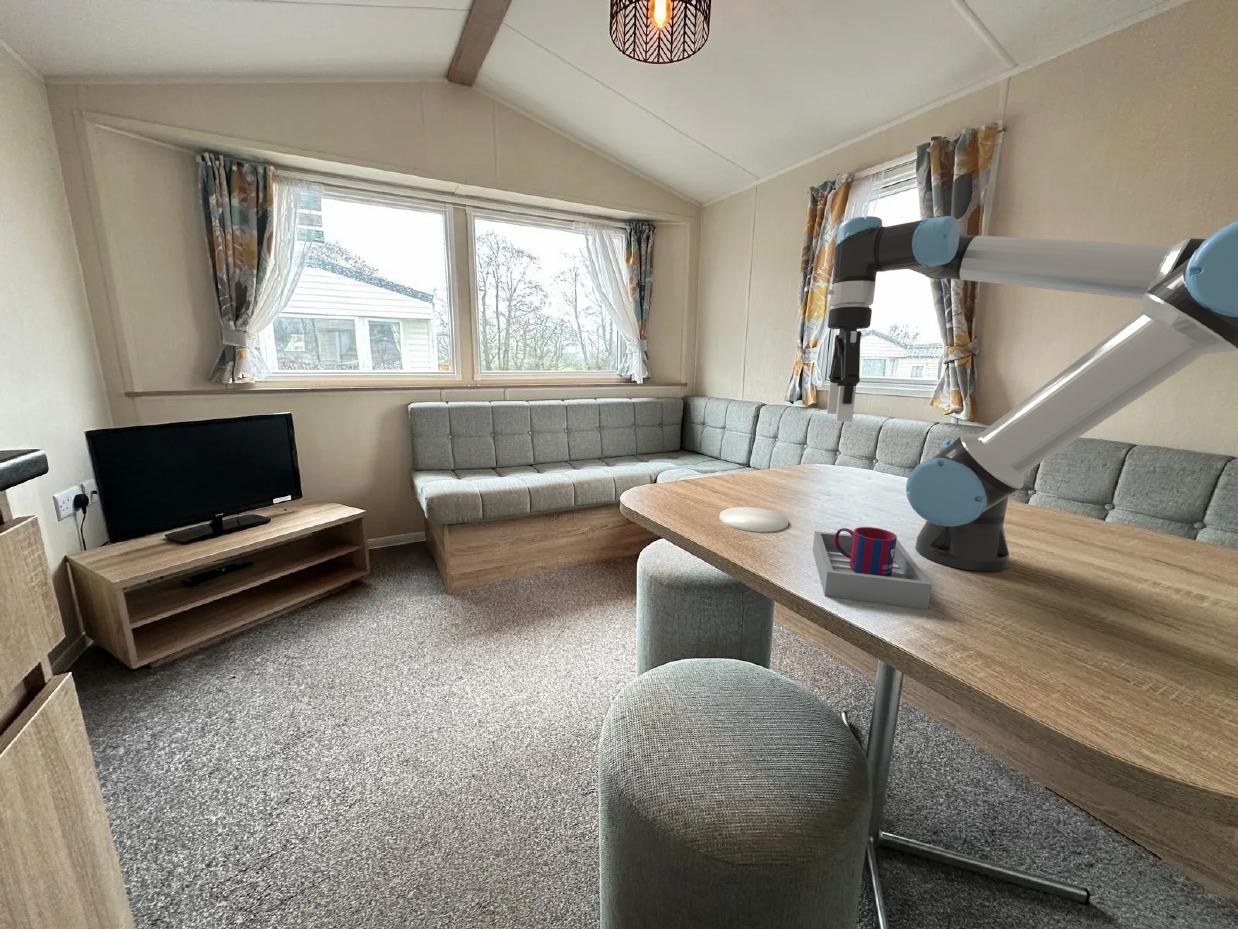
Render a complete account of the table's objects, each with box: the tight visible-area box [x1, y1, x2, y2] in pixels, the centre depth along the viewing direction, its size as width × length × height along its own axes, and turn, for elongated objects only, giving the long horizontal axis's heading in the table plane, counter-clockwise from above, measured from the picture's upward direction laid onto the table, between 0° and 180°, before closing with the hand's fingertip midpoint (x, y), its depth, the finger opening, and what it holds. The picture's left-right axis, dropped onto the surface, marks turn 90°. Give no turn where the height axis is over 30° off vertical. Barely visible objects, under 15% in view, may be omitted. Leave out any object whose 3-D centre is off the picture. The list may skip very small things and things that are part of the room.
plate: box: [718, 506, 789, 533], centre depth 117 cm, size 16×16×1 cm
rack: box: [812, 530, 933, 610], centre depth 86 cm, size 15×20×4 cm
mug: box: [835, 526, 898, 577], centre depth 87 cm, size 7×10×7 cm
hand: (838, 417), depth 97 cm, fingers open, 13 cm apart
